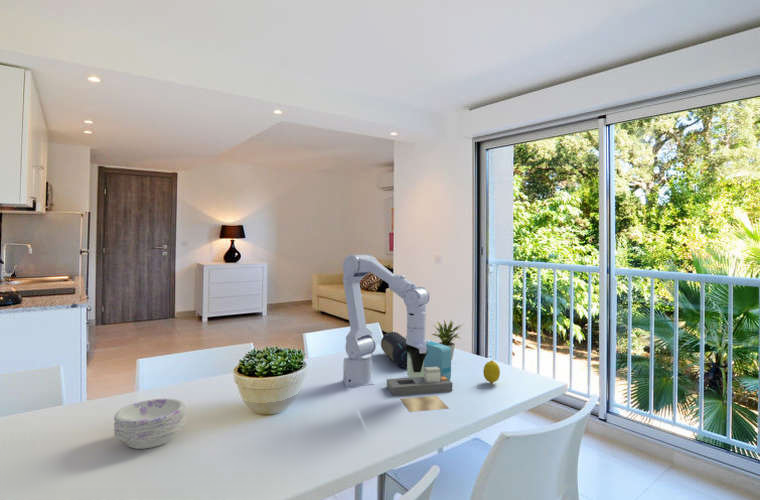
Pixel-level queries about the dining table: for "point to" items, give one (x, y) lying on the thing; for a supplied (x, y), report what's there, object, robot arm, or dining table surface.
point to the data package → (439, 358)
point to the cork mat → (423, 403)
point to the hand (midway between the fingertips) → (415, 370)
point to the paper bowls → (149, 422)
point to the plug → (410, 368)
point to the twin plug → (431, 374)
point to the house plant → (447, 335)
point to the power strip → (417, 386)
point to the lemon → (491, 371)
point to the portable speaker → (395, 348)
